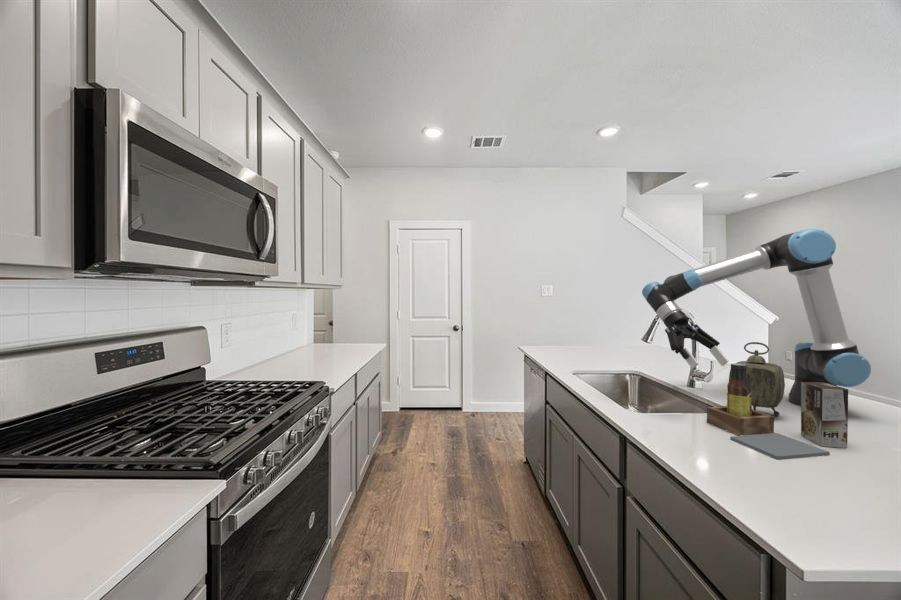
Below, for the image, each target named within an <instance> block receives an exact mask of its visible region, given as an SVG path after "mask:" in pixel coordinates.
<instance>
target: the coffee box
mask: <svg viewBox="0 0 901 600" xmlns="http://www.w3.org/2000/svg"><path fill="white" fill-rule="evenodd" d="M848 418H849V389H848V388H845V387H843V386H838V385H837V386H835V385H832V384H829V383H825V382H801V405H800V436H802V437H804V438H805V439H808V440H809V441H811V442H813V443H815V444H816V445H819V446H821V447H828V448H829V447H831V448H841V449H842V448H844V449H847V448H848V435H849V434H848V431H849V430H848V428H849V427H848V426H849V425H848V423H849V422H848V420H849V419H848Z"/></svg>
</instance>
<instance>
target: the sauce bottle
mask: <svg viewBox="0 0 901 600" xmlns="http://www.w3.org/2000/svg"><path fill="white" fill-rule="evenodd" d="M730 369H732V376H731V377H732V378H731V380H730V382H729V381H728V383H727V387H726V389H727V390H726V392H727V393H726V406H727V413H729V414H732V415H735V416H738V417H748V416H752V410H753V406H752V396H751V394H752V393H751V389H750V386H749V383H748V381H747V379H746V378H747V377H746V370H747V365H745V364H737V362H735V363H730Z"/></svg>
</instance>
